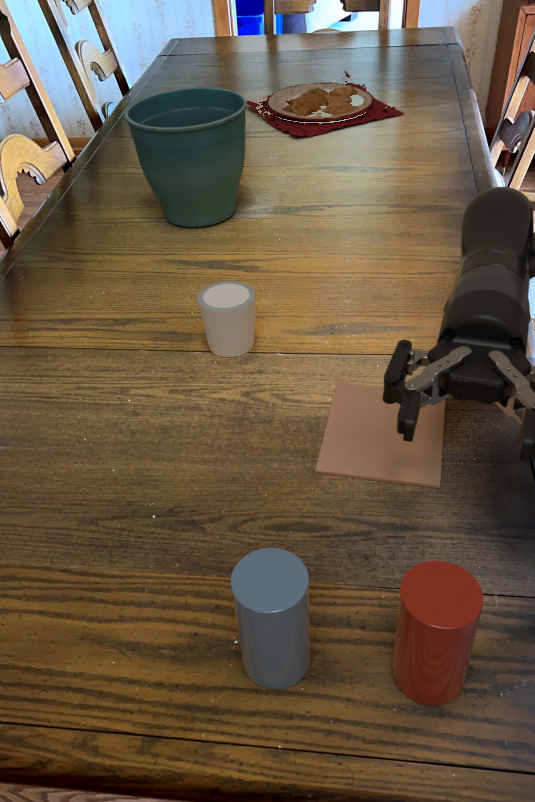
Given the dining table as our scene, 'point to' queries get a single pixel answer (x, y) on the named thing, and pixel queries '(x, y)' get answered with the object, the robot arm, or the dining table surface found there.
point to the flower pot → (191, 151)
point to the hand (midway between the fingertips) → (465, 443)
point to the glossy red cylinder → (435, 631)
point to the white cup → (228, 317)
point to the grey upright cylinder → (273, 616)
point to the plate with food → (313, 100)
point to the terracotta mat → (380, 439)
